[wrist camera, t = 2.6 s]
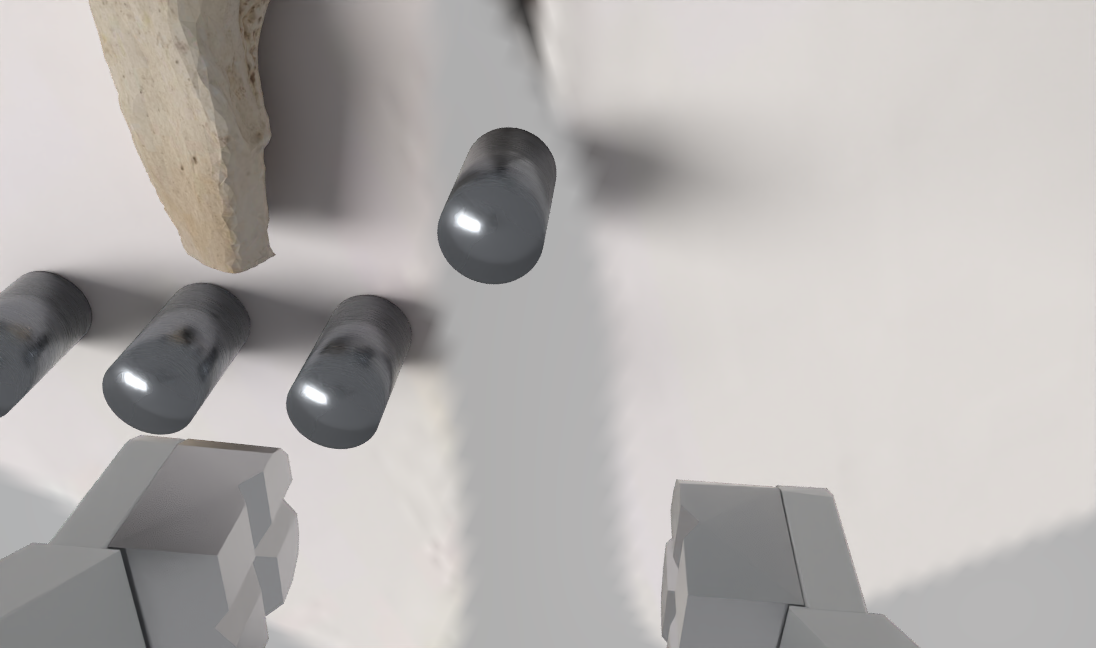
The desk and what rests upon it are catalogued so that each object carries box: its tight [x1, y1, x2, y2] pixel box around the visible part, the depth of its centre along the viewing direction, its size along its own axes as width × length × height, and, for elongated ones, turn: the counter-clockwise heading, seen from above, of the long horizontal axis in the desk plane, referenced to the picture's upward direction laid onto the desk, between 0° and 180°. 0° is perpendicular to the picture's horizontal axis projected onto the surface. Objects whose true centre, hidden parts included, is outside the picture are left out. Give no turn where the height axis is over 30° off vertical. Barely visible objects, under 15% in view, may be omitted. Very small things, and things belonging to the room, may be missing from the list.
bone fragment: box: [89, 0, 276, 274], centre depth 27 cm, size 14×6×5 cm, turn 173°
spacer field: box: [0, 128, 556, 449], centre depth 26 cm, size 20×25×5 cm
